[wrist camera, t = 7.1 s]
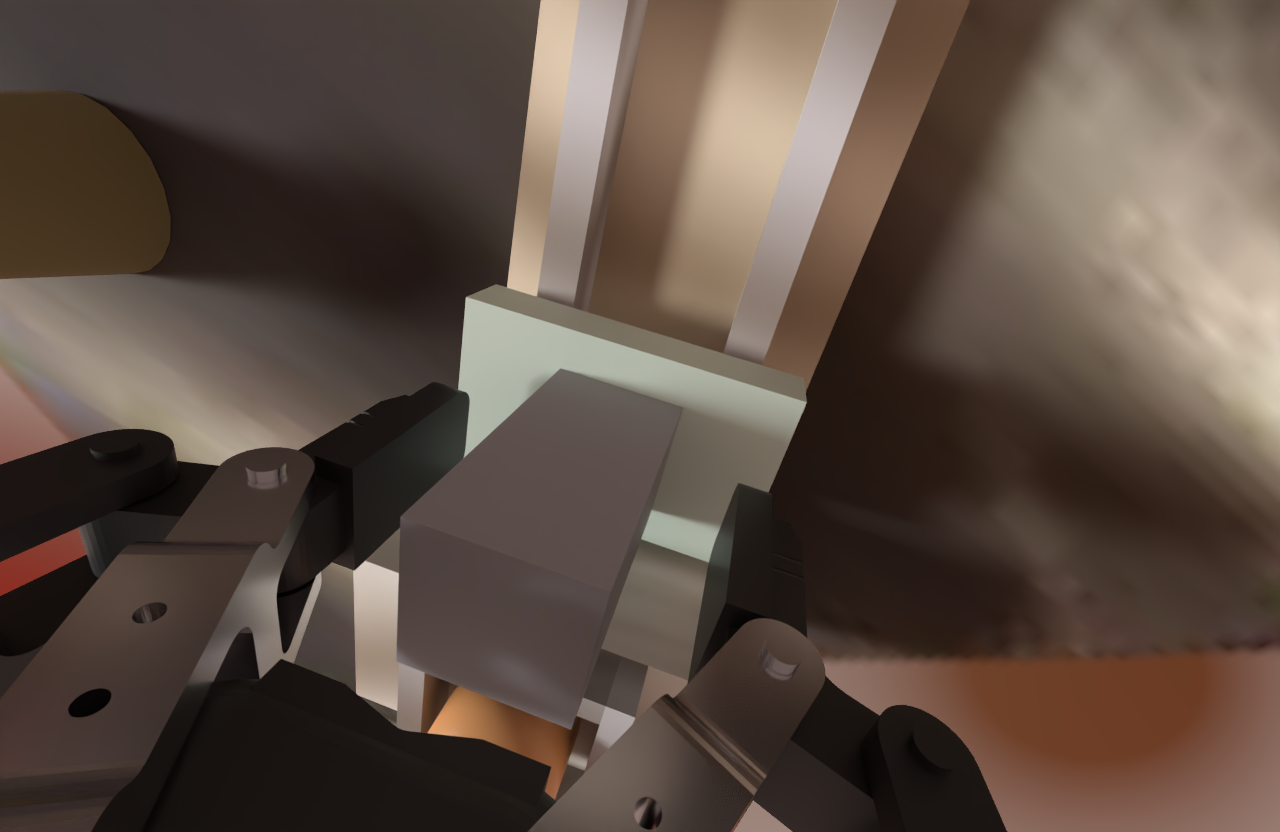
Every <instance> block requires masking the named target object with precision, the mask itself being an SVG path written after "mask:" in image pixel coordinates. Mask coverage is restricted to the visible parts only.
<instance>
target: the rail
mask: <svg viewBox="0 0 1280 832" xmlns="http://www.w3.org/2000/svg"><path fill="white" fill-rule="evenodd" d="M969 3H970V0H541V4H540V12H539V21H538V29H537V38H536V46H535V55H534V63H533V72H532V80H531V89H530V97H529V106H528V114H527V123H526V131H525V140H524V148H523V157H522V165H521V174H520V182H519V191H518V199H517V208H516V216H515V224H514V233H513V241H512V250H511V258H510V267H509V275H508V284H507V288H510V289H513V290H516V291H520V292H523V293H526V294H530V295H533V296H536V297H539V298H543V299H546V300H549V301H553V302H556V303H559V304H562V305H566V306H569V307H572V308H576V309H579V310H582V311H585V312H589V313H592V314H595V315H599V316H602V317H605V318H608V319H612V320H615V321H618V322H621V323H625V324H628V325H631V326H635V327H638V328H641V329H644V330H648V331H651V332H654V333H658V334H661V335H664V336H667V337H671V338H674V339H677V340H681V341H684V342H687V343H690V344H694V345H697V346H700V347H704V348H707V349H710V350H713V351H717V352H720V353H723V354H726V355H730V356H733V357H736V358H740V359H743V360H746V361H749V362H753V363H756V364H759V365H763V366H766V367H769V368H772V369H776V370H779V371H782V372H786V373H789V374H792V375H795V376H799V377H802V378H804V384H805V392H806V390H807V388H808V385H809V383H810V381H811V378H812V376H813V374H814V371H815V369H816V366H817V364H818V362H819V359H820V357H821V355H822V352H823V350H824V347H825V345H826V343H827V340H828V338H829V336H830V333H831V331H832V328H833V326H834V324H835V321H836V319H837V316H838V314H839V312H840V309H841V307H842V305H843V302H844V300H845V297H846V295H847V293H848V290H849V288H850V286H851V283H852V281H853V278H854V276H855V274H856V271H857V269H858V267H859V264H860V262H861V259H862V257H863V255H864V252H865V250H866V248H867V245H868V243H869V240H870V238H871V236H872V233H873V231H874V229H875V226H876V224H877V221H878V219H879V217H880V214H881V212H882V209H883V207H884V205H885V202H886V200H887V198H888V195H889V193H890V190H891V188H892V186H893V183H894V181H895V179H896V176H897V174H898V171H899V169H900V167H901V164H902V162H903V160H904V157H905V155H906V152H907V150H908V148H909V145H910V143H911V141H912V138H913V136H914V133H915V131H916V129H917V126H918V124H919V121H920V119H921V117H922V114H923V112H924V110H925V107H926V105H927V102H928V100H929V98H930V95H931V93H932V91H933V88H934V86H935V83H936V81H937V79H938V76H939V74H940V72H941V69H942V67H943V64H944V62H945V60H946V57H947V55H948V53H949V50H950V48H951V45H952V43H953V41H954V38H955V36H956V33H957V31H958V29H959V26H960V24H961V22H962V19H963V17H964V14H965V12H966V10H967V7H968V5H969ZM399 550H400V528H399V529H398V530H397V531H396V532H395V533H394V534H393V535H392V536H391V537H390V538H389V539H387V540H386V541H385V542H384V543H383V544H382V545H381V546H380V547H379V548H378V549H377V550H376V551H375V552H374V553H373V554H372V555H371V556H370V557H369V558H367V559H366V560H365V561H364V562H363V563H362V564H361V565H360V566H359V567H358V568H357V569H356V570H355V571H354V570H353V574H354V616H355V658H356V694H357V695H359V696H362V697H364V698H367V699H369V700H372V701H374V702H377V703H379V704H382V705H384V706H387V707H389V708H392V709H394V710H397V728H399V729H402V730H406V731H412V732H421V733H428V731H429V729H430V728H431V726H432V725H433V723H434V721H435V720H436V718H437V717H438V715H439V713H440V712H441V710H442V708H443V707H444V705H445V704H446V702H447V700H448V699H449V697H450V696H451V694H452V692H453V691H454V689H455V687H456V686H457V685H455V684H452V683H450V682H447V681H445V680H442V679H440V678H437V677H435V676H432V675H429V674H427V673H424V672H422V671H419V670H417V669H414V668H411V667H409V666H406V665H404V664H401V663H399V662H396V651H397V617H398V584H399ZM708 564H709V563H708V562H706V561H703V560H700V559H697V558H694V557H691V556H688V555H685V554H682V553H680V552H677V551H674V550H671V549H668V548H665V547H662V546H659V545H657V544H654V543H651V542H648V541H645V540H642V539H641V541H640V544H639V546H638V549H637V552H636V555H635V557H634V560H633V563H632V565H631V568H630V571H629V574H628V576H627V579H626V582H625V585H624V587H623V590H622V593H621V595H620V598H619V601H618V604H617V606H616V609H615V612H614V615H613V617H612V620H611V623H610V626H609V628H608V631H607V634H606V636H605V639H604V642H603V645H602V647H601V650H600V653H599V656H598V658H597V661H596V664H595V666H594V669H593V672H592V675H591V677H590V680H589V683H588V686H587V688H586V691H585V694H584V697H583V699H582V702H581V705H580V707H579V710H578V713H577V716H578V717H580V729H579V733H578V735H577V738H576V741H575V744H574V747H573V750H572V752H571V755H570V758H569V761H568V764H567V767H566V770H565V772H564V775H563V778H562V781H561V784H560V787H559V789H558V792H557V795H556V798H555V800H556V801H558V800H559V799H560V798H561V797H562V796H563V795H564V794H565V793H566V792H567V791H568V790H569V789H570V788H571V787H572V786H573V785H574V784H575V783H576V782H577V781H578V780H579V779H580V778H581V777H582V776H583V775H584V773H585V772H586V771H587V770H588V769H589V768H590V767H591V766H592V765H593V764H594V763H595V762H596V761H597V760H598V759H599V758H600V757H601V756H602V755H603V754H604V753H605V752H606V751H607V750H608V749H609V748H610V747H611V746H612V745H613V744H614V743H615V742H616V741H617V740H618V739H619V738H620V737H621V736H622V735H623V734H624V733H625V732H626V731H627V730H628V729H629V728H630V727H631V726H632V725H633V724H634V722H635V721H636V720H637V719H638V718H639V717H640V716H641V715H642V714H643V713H644V712H645V711H646V710H647V709H648V708H649V707H650V706H651V705H652V704H653V703H654V702H655V701H656V700H658V699H659V698H660V697H662V696H663V695H665V694H669V695H670V696H671V697H672V698H674V697H675V696H676V695H677V694H678V693H679V692H680V691H681V690H682V689H683V688H684V687H685V686H686V685H687V683H688V678H689V672H690V666H691V661H692V655H693V649H694V643H695V638H696V632H697V626H698V620H699V615H700V609H701V603H702V597H703V592H704V586H705V580H706V574H707V569H708Z"/></svg>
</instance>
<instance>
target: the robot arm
mask: <svg viewBox="0 0 1280 832" xmlns="http://www.w3.org/2000/svg"><path fill="white" fill-rule="evenodd" d="M469 405H470V399H469V395H468V394H467V393H466V392H464V391H461V390H458V389H455V388H452V387H449V386H446V385H443V384H440V383H437V382H433V383H431V384H429V385H427V386H426V387H424V388H422V389H421V390H419V391H418V392H416V393H414V394H413V395H411V396H407V395H403V396H400V397H396V398H392V399H388V400H384V401H381V402H379V403H378V404H376V405H374V406H373V407H371V408H369V409H368V410H366V411H364V414H359V415H357V416H356V417H354V418H352V419H351V420H350V421H349V423H347V422H345V423H344V424H342V425H340V426H339V427H337V428H335V429H334V430H332V431H330V432H328V433H327V434H325V435H323V436H322V437H320V438H318V439H317V440H315V441H313V442H311V443H310V444H308V445H306V446H305V447H303V448H301V449H300V450H298V451H297V450H294V449H289V448H281V447H270V448H260V449H254V450H249V451H246V452H243V453H240V454H237V455H235V456H233V457H231V458H229V459H227V460H226V461H225V462H223V463H222V464H221V465H220V466H216V465H207V464H198V463H189V462H181V461H177V458H176V453H175V448H174V444H173V441H172V440H171V439H170V438H169V437H168V436H166V435H165V434H162V433H159V432H156V431H151V430H144V429H122V430H113V431H106V432H102V433H97V434H93V435H90V436H86V437H83V438H80V439H77V440H74V441H71V442H68V443H65V444H62V445H59V446H56V447H53V448H50V449H47V450H44V451H41V452H38V453H35V454H31V455H28V456H25V457H22V458H19V459H16V460H13V461H10V462H7V463H4V464H1V465H0V562H1V561H3V560H5V559H8V558H10V557H12V556H15V555H17V554H19V553H21V552H24V551H26V550H28V549H30V548H33V547H35V546H37V545H40V544H42V543H44V542H46V541H48V540H51V539H53V538H55V537H58V536H60V535H62V534H65V533H67V532H69V531H71V530H73V529H76V528H78V529H79V532H80V535H81V538H82V542H83V544H84V548H85V551H86V553H87V555H85V556H83V557H81V558H79V559H77V560H75V561H72V562H70V563H68V564H66V565H64V566H62V567H60V568H58V569H56V570H54V571H52V572H50V573H48V574H46V575H44V576H41V577H39V578H37V579H35V580H33V581H31V582H29V583H27V584H25V585H23V586H21V587H19V588H16V589H15V590H12V591H10V592H8V593H6V594H4V595H2V596H0V832H733V831H734V830H735V828H736V827H737V825H738V823H739V822H740V820H741V819H742V817H743V815H744V814H745V812H746V811H747V809H748V807H749V806H750V804H751V802H752V801H753V800H754V801H755V802H756V803H758V804H759V805H760V806H761V807H762V808H764V809H765V810H766V811H767V812H769V813H770V814H771V815H772V816H774V817H775V818H776V819H778V820H779V821H780V822H781V823H783V824H784V825H785V826H786V827H788V828H789V829H790V830H791V831H793V832H1007V831H1006V828H1005V826H1004V824H1003V822H1002V819H1001V817H1000V814H999V812H998V810H997V808H996V805H995V803H994V801H993V799H992V796H991V794H990V792H989V789H988V787H987V785H986V783H985V780H984V778H983V776H982V773H981V771H980V769H979V767H978V765H977V763H976V761H975V759H974V757H973V755H972V754H971V752H970V751H969V749H968V748H967V747H966V745H965V744H964V743H963V742H962V740H961V739H960V738H959V737H958V736H957V735H956V734H955V733H954V732H953V731H952V730H951V729H950V728H949V727H948V726H946V725H945V724H944V723H943V722H941V721H940V720H938V719H937V718H936V717H934V716H932V715H931V714H929V713H926V712H925V711H923V710H921V709H918V708H915V707H911V706H907V705H895V706H891V707H889V708H887V709H886V710H885V711H884V712H883V713H882V714H881V715H880V716H879V715H878V714H876V713H875V712H873V711H871V710H870V709H868V708H867V707H865V706H864V705H862V704H861V703H859V702H858V701H856V700H855V699H853V698H852V697H850V696H849V695H847V694H845V693H844V692H843V691H842V690H840V689H839V688H838V687H837V686H835V685H834V684H833V683H832V682H831V681H830V680H829V679H828V678H827V677H826V676H825V667H824V663H823V661H822V658H821V656H820V654H819V653H818V651H817V649H816V648H815V647H814V645H813V644H812V643H811V642H810V641H809V640H808V639H807V626H806V610H805V594H804V581H802V580H803V565H802V547H801V542H800V541H799V539H798V537H797V535H796V534H795V532H794V530H793V528H792V527H791V525H790V524H787V523H784V522H781V521H778V520H775V519H772V517H773V495H772V494H771V493H768V492H765V491H762V490H759V489H756V488H753V487H750V486H747V485H744V484H741V483H738V485H737V486H736V488H735V491H734V493H733V496H732V498H731V501H730V503H729V506H728V509H727V511H726V514H725V516H724V519H723V522H722V524H721V527H720V529H719V532H718V534H717V537H716V540H715V543H714V546H713V549H712V552H711V556H710V559H709V564H708V569H707V574H706V580H705V586H704V592H703V597H702V603H701V609H700V615H699V620H698V626H697V632H696V638H695V643H694V649H693V655H692V661H691V666H690V672H689V678H688V683H687V685H686V686H685V687H684V688H683V689H682V690H681V691H680V692H679V693H678V694H677V695H676V696H675V697H674V698H672V697H671V696H670V695H669V694H665V695H663V696H662V697H660V698H659V699H658V700H656V701H655V702H654V703H653V704H652V705H651V706H650V707H649V708H648V709H647V710H646V711H645V712H644V713H643V714H642V715H641V716H640V717H639V718H638V719H637V720H636V721H635V722H634V724H633V725H632V726H631V727H630V728H629V729H628V730H627V731H626V732H625V733H624V734H623V735H622V736H621V737H620V738H619V739H618V740H617V741H616V742H615V743H614V744H613V745H612V746H611V747H610V748H609V749H608V750H607V751H606V752H605V753H604V754H603V755H602V756H601V757H600V758H599V759H598V760H597V761H596V762H595V763H594V764H593V765H592V766H591V767H590V768H589V769H588V770H587V771H586V772H585V773H584V775H583V776H582V777H581V778H580V779H579V780H578V781H577V782H576V783H575V784H574V785H573V786H572V787H571V788H570V789H569V790H568V791H567V792H566V793H565V794H564V795H563V796H562V797H561V798H560V799H559V800H558V801H556V800H555V799H553V798H552V797H551V796H550V795H548V794H547V793H546V792H545V789H546V785H547V782H548V778H549V774H550V771H551V766H548V765H546V764H543V763H541V762H538V761H536V760H533V759H531V758H528V757H526V756H523V755H521V754H518V753H516V752H513V751H511V750H508V749H506V748H503V747H501V746H498V745H496V744H493V743H491V742H488V741H486V740H483V739H476V738H467V737H458V736H449V735H440V734H430V733H421V732H412V731H406V730H402V729H399V728H397V727H396V726H394V725H393V724H392V723H391V722H389V721H388V720H387V719H386V718H385V717H383V716H382V715H381V714H380V713H379V712H377V711H376V710H375V709H374V708H373V707H371V706H370V705H369V704H368V703H367V702H366V701H364V700H363V699H362V698H361V697H360V696H358V695H357V694H356V693H355V692H354V691H352V690H351V689H350V688H349V687H348V686H346V685H345V684H343V683H341V682H338V681H336V680H333V679H331V678H328V677H326V676H323V675H321V674H318V673H316V672H313V671H311V670H308V669H306V668H303V667H301V666H298V665H296V664H293V663H294V660H295V658H296V655H297V652H298V649H299V646H300V643H301V641H302V638H303V635H304V632H305V629H306V626H307V624H308V621H309V618H310V615H311V612H312V609H313V607H314V604H315V601H316V598H317V595H318V592H319V590H320V587H321V582H322V581H321V571H322V570H323V569H325V568H326V567H327V566H328V565H329V564H330V563H331V562H333V563H336V564H338V565H341V566H344V567H346V568H349V569H352V570H354V571H355V570H356V569H357V568H358V567H359V566H360V565H361V564H362V563H363V562H364V561H365V560H366V559H367V558H369V557H370V556H371V555H372V554H373V553H374V552H375V551H376V550H377V549H378V548H379V547H380V546H381V545H382V544H383V543H384V542H385V541H386V540H387V539H389V538H390V537H391V536H392V535H393V534H394V533H395V532H396V531H397V530H398V529H399V528H400V517H401V516H402V515H403V514H404V513H405V512H406V511H407V510H408V509H409V508H410V507H411V506H412V505H414V504H415V503H416V502H417V501H418V500H419V499H420V498H421V497H422V496H423V495H424V494H425V493H426V492H428V491H429V490H430V489H431V488H432V487H433V486H434V485H435V484H436V483H437V482H438V481H439V480H441V479H442V478H443V477H444V476H445V475H446V474H447V473H448V472H449V471H450V470H451V469H452V468H453V467H455V466H456V465H457V464H458V463H459V462H460V461H461V460H462V459H463V458H464V454H465V447H466V436H467V426H468V415H469Z"/></svg>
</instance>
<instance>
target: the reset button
mask: <svg viewBox="0 0 1280 832" xmlns="http://www.w3.org/2000/svg"><path fill="white" fill-rule="evenodd" d="M579 729H580V717H578V716H576V718H575V721H574V724H573V727H572V729H571V730H570V729H568V728H565V727H563V726H560V725H557V724H555V723H552V722H550V721H547V720H545V719H542V718H540V717H537V716H534V715H532V714H529V713H527V712H524V711H522V710H519V709H516V708H514V707H511V706H509V705H506V704H504V703H501V702H499V701H496V700H493V699H491V698H488V697H486V696H483V695H481V694H478V693H475V692H473V691H470V690H468V689H465V688H463V687H460V686H458V685H457V686H456V687H455V689H454V691H453V692H452V694H451V696H450V697H449V699H448V700H447V702H446V704H445V705H444V707H443V708H442V710H441V712H440V713H439V715H438V717H437V718H436V720H435V721H434V723H433V725H432V726H431V728H430V729H429V731H428V733H430V734H440V735H449V736H458V737H467V738H476V739H483V740H486V741H488V742H491V743H493V744H496V745H498V746H501V747H503V748H506V749H508V750H511V751H513V752H516V753H518V754H521V755H523V756H526V757H528V758H531V759H533V760H536V761H538V762H541V763H543V764H546V765H548V766H551V771H550V774H549V778H548V782H547V785H546V789H545V792H546V793H547V794H548V795H550V796H551V797H552V798H553V799H555V798H556V795H557V792H558V789H559V787H560V784H561V781H562V778H563V775H564V772H565V770H566V767H567V764H568V761H569V758H570V755H571V752H572V750H573V747H574V744H575V741H576V738H577V735H578V733H579Z"/></svg>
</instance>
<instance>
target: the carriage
mask: <svg viewBox="0 0 1280 832" xmlns="http://www.w3.org/2000/svg"><path fill="white" fill-rule="evenodd" d="M458 390H461V391H464V392H466V393H467V394H468V395H469V399H470V405H469V415H468V426H467V436H466V447H465V454H464V458H463V459H462V460H461V461H460V462H459V463H458V464H457V465H456V466H455V467H453V468H452V469H451V470H450V471H449V472H448V473H447V474H446V475H445V476H444V477H443V478H442V479H441V480H439V481H438V482H437V483H436V484H435V485H434V486H433V487H432V488H431V489H430V490H429V491H428V492H426V493H425V494H424V495H423V496H422V497H421V498H420V499H419V500H418V501H417V502H416V503H415V504H414V505H412V506H411V507H410V508H409V509H408V510H407V511H406V512H405V513H404V514H403V515H402V516H401V517H400V550H399V584H398V617H397V651H396V662H399V663H401V664H404V665H406V666H409V667H411V668H414V669H417V670H419V671H422V672H424V673H427V674H429V675H432V676H435V677H437V678H440V679H442V680H445V681H447V682H450V683H452V684H455V685H458V686H460V687H463V688H465V689H468V690H470V691H473V692H475V693H478V694H481V695H483V696H486V697H488V698H491V699H493V700H496V701H499V702H501V703H504V704H506V705H509V706H511V707H514V708H516V709H519V710H522V711H524V712H527V713H529V714H532V715H534V716H537V717H540V718H542V719H545V720H547V721H550V722H552V723H555V724H557V725H560V726H563V727H565V728H568V729H570V730H571V729H572V727H573V724H574V721H575V718H576V716H577V713H578V710H579V707H580V705H581V702H582V699H583V697H584V694H585V691H586V688H587V686H588V683H589V680H590V677H591V675H592V672H593V669H594V666H595V664H596V661H597V658H598V656H599V653H600V650H601V647H602V645H603V642H604V639H605V636H606V634H607V631H608V628H609V626H610V623H611V620H612V617H613V615H614V612H615V609H616V606H617V604H618V601H619V598H620V595H621V593H622V590H623V587H624V585H625V582H626V579H627V576H628V574H629V571H630V568H631V565H632V563H633V560H634V557H635V555H636V552H637V549H638V546H639V544H640V541H641V539H642V540H645V541H648V542H651V543H654V544H657V545H659V546H662V547H665V548H668V549H671V550H674V551H677V552H680V553H682V554H685V555H688V556H691V557H694V558H697V559H700V560H703V561H706V562H708V563H709V559H710V556H711V552H712V549H713V546H714V543H715V540H716V537H717V534H718V532H719V529H720V527H721V524H722V522H723V519H724V516H725V514H726V511H727V509H728V506H729V503H730V501H731V498H732V496H733V493H734V491H735V488H736V486H737V485H738V483H741V484H744V485H747V486H750V487H753V488H756V489H759V490H762V491H765V492H769V490H770V488H771V485H772V483H773V481H774V478H775V476H776V474H777V471H778V469H779V467H780V464H781V462H782V460H783V457H784V455H785V453H786V450H787V448H788V446H789V443H790V441H791V438H792V436H793V434H794V431H795V429H796V427H797V424H798V422H799V420H800V417H801V415H802V413H803V410H804V408H805V406H806V403H807V399H806V392H805V384H804V378H802V377H799V376H795V375H792V374H789V373H786V372H782V371H779V370H776V369H772V368H769V367H766V366H763V365H759V364H756V363H753V362H749V361H746V360H743V359H740V358H736V357H733V356H730V355H726V354H723V353H720V352H717V351H713V350H710V349H707V348H704V347H700V346H697V345H694V344H690V343H687V342H684V341H681V340H677V339H674V338H671V337H667V336H664V335H661V334H658V333H654V332H651V331H648V330H644V329H641V328H638V327H635V326H631V325H628V324H625V323H621V322H618V321H615V320H612V319H608V318H605V317H602V316H599V315H595V314H592V313H589V312H585V311H582V310H579V309H576V308H572V307H569V306H566V305H562V304H559V303H556V302H553V301H549V300H546V299H543V298H539V297H536V296H533V295H530V294H526V293H523V292H520V291H516V290H513V289H510V288H507V287H503V286H500V285H497V284H496V285H494V286H491V287H489V288H486V289H484V290H481V291H479V292H477V293H474V294H472V295H469V296H467V297H466V303H465V315H464V327H463V339H462V351H461V363H460V376H459V388H458Z"/></svg>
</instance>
